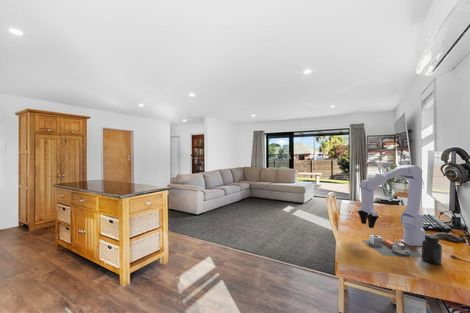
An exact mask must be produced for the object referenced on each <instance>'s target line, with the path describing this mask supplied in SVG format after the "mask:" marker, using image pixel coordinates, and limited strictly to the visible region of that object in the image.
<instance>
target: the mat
mask: <svg viewBox="0 0 470 313" xmlns="http://www.w3.org/2000/svg"><path fill="white" fill-rule="evenodd" d="M390 241H391V240H390ZM361 242H362V243H365V244H366V245H367V246H369V247H370V248H372V249H373V250H374V251H376V252H377V253H379V254H381V255H382V256H385V257H404V258H405V257H406V258H407V257H409V258H410V257H411V258H422V253H419V252H417V251H415V250H414V249H412V248H410V247H408V246H406V245H405V248H407V249H409V250H410V256H402V255H398V254H395V253H394V252H393V251H392V249H391V248H389V247H388V246H386V245H384V244H383V247H382V246H373V245H371V244H370V243H369V240H364V239H362V240H361ZM391 242H393V243H395V244H396V245H397V244H402V242H401V243H400V242H399V241H391Z"/></svg>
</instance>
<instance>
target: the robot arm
mask: <svg viewBox="0 0 470 313" xmlns="http://www.w3.org/2000/svg"><path fill="white" fill-rule="evenodd" d="M398 176H401V177H403V178H404V179H406V180H408V182H409V187H408V193H407V194H408V196H407V203H406V208H405V210H402V214H401V215H400V218H399V221H400V222H401V224H402V226H403V239H399V241H400V242H401V243H403V244H406V245H408V246H413V247H414V246H416V247H418V246H419V247H422V241H424V240H425V235H427V233H426V231H425V229H424V228H423V227H424V225H425V221H424V215H423V214H422V213H421V212H420V206H421V205H420V204H421V197H422V190H423V169H422V168H421V167H420V166H419V165H416V164H413V165H411V164H410V165H409V164H408V165H407V164H406V165H405V164H401V165H398V166H396V167H395V168H393V169H390V170H389V171H387V172H385V173H384V174H383V173H375V176H374V175H373V176H372V177H368V178H367V179H363V180H361V181H360V183H359V188H360V189H361V190H360V191H361V206H359V207H358V208H359V209H358V210H357V214H358V216H359V219H360V222H361V225H366V224H367V225H368V229H374V228H375V225H376V222H377V220H378V219H379V215H378V212H377V211H375V209H374V207H375V206H374V205H375V203H374V202H375V199H374V195H375V194H374V192H375V190H376V189H377V187H380V186H382V185H384V184H386V183H387V182H388V180H391V179H393V178H396V177H398Z"/></svg>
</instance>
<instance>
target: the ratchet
mask: <svg viewBox="0 0 470 313" xmlns="http://www.w3.org/2000/svg"><path fill="white" fill-rule="evenodd" d="M393 242H394V241H393ZM393 242H391V240H390V239H387V238H383V244H384V245H386V246H388V247H389V248H391V249H392V251H393V252H394V253H395V254H398V255H402V256H401V257H403V256H410V250H409V249H407V248H405V246H406V245H405V244H404V243H401V244H397V245H396V244H395V243H393Z"/></svg>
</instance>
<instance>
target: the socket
mask: <svg viewBox="0 0 470 313" xmlns="http://www.w3.org/2000/svg"><path fill="white" fill-rule="evenodd" d="M383 239H384V238H383V237H382V236H380V235H378V234H369V235H368V241H369V243H370V244H371V245H373V246H382V247H383Z"/></svg>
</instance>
